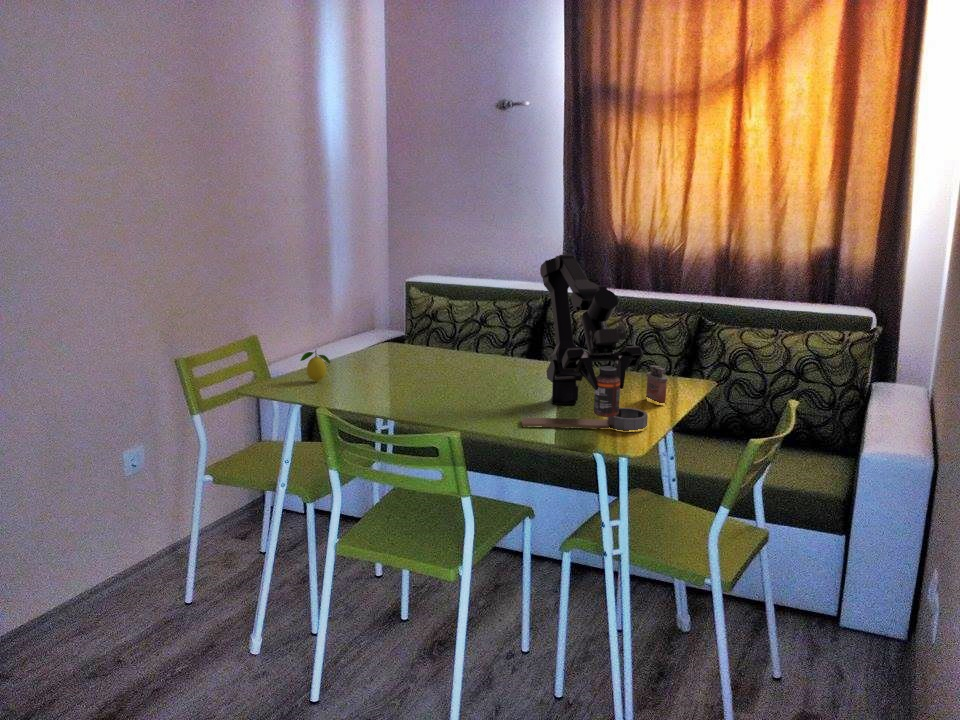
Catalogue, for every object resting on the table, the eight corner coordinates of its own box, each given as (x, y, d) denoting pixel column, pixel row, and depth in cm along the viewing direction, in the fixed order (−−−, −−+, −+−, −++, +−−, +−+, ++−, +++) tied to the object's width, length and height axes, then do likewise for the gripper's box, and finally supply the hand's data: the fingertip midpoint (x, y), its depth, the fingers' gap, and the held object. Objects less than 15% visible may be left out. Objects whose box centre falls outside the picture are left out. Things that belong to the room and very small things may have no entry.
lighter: (642, 398, 254) (644, 363, 252) (653, 397, 255) (655, 362, 253) (657, 406, 247) (660, 370, 244) (668, 405, 248) (671, 369, 246)
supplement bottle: (616, 410, 222) (619, 364, 219) (620, 418, 216) (623, 371, 213) (591, 410, 222) (594, 364, 219) (595, 417, 216) (597, 371, 213)
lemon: (301, 383, 266) (299, 349, 264) (311, 378, 271) (309, 345, 269) (321, 385, 264) (320, 351, 262) (331, 380, 269) (330, 347, 267)
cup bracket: (521, 430, 226) (522, 416, 225) (522, 418, 235) (522, 405, 234) (648, 433, 224) (649, 419, 224) (644, 421, 234) (644, 408, 233)
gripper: (567, 315, 215) (579, 373, 207) (642, 312, 218) (657, 370, 211) (556, 340, 224) (568, 396, 217) (629, 337, 228) (643, 393, 220)
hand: (609, 388), depth 216 cm, fingers closed on supplement bottle, 6 cm apart
